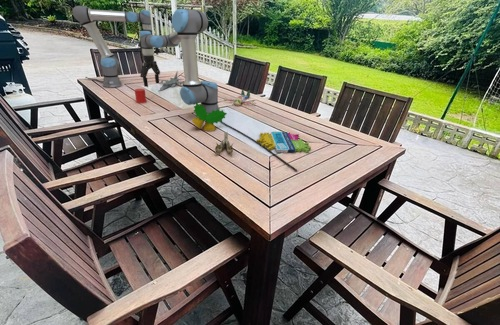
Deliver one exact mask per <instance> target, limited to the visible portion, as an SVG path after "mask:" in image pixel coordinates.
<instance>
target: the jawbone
mask: <svg viewBox="0 0 500 325" xmlns="http://www.w3.org/2000/svg"><path fill="white" fill-rule="evenodd" d="M223 135H224V136H223V140H222V139H221V142H220V144H218V142H215V144H216V146H215V148H214V149H215V152H214V154H215V155H217V156H218V155H220V153H221V152H223V151H224V150H226V152H227V153H228V155H229V156H233V155H234V154H233V153H234V148H233V144H234V143H230V140H228V139H229V138H228V137H229V136H228V135H229V133H228V131H226V132H224V134H223Z"/></svg>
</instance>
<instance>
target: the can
mask: <svg viewBox="0 0 500 325" xmlns="http://www.w3.org/2000/svg"><path fill="white" fill-rule="evenodd" d="M134 94H135V102H136V103H137V104H145V103H147V96H146V95H147V94H146V89H145V88H135V89H134Z"/></svg>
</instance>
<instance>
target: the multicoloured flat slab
mask: <svg viewBox="0 0 500 325" xmlns="http://www.w3.org/2000/svg"><path fill="white" fill-rule="evenodd" d="M299 136H300V135H299V134H298V133H296V134H294V133H291V132H287V131H270V132H264V133H263V132H260V133H259V139H258V138H257V139H256V141H257V142H258V143H260V144H261V145H262V146H264V147H266V148H267V149H268V150H270V151H272V150H273V149H275V152H276V153H283V154H285V153H287V154H288V153H290V154H293V153H296V152H298V153H301V152H305V153H310V151H311V150H312V149H311V148H312V146H309V142H304V141H303V139H302V138H299ZM262 146H261V147H262ZM268 150H267V151H268Z"/></svg>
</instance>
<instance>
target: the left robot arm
mask: <svg viewBox="0 0 500 325" xmlns="http://www.w3.org/2000/svg"><path fill="white" fill-rule="evenodd" d="M72 15H73V17H74V19H75V20H76V21H78V22H79V23H80V25H81V27H84V28H85V30H86V31H87V33H88V35H89V36H90V38H91V40H92V42H93V44H94V46H95V47H96V48H97V50H98V52H99V54H100V56H101V57H100V65H101V70H102V75H103V81H101V80H99V79H97V78H92V80H94V81H97V82H99V83H101V84H102V86H103V87H104V88H111V89H112V88H120V87H122V86H123V83H122V82H121V80H120V78H119V72H118V70H119V68H120V65H121V64H120V61H119V59H118V58H116V56H115V54H114V53H113V52H111V49H110V48H109V46H108V44H107V43H106V41H105V39H104V36H102V34H101V32H100V30H99V28H98V26H97V24H96V23H97V21H101V22H103V21H104V22H120V23H121V22H123V23H141V24H142V31H150V32H151V35H153V30H152V19H151V12H150V11H149V10H147V9H146V10H145V9H141V10H140V11H124V10H123V11H122V10H121V11H119V10H105V9H92V8H90V7H88V6H86V5H76V6H74V7H73V8H72ZM137 47H139V48H140V52H141V55H142V56H143V53H142V46H141V40H140V39H139V42H138V45H137ZM154 48H155V47H154ZM155 55H157V56H158V55H159V48H155ZM85 79H88V80H91V78H90V77H87V76H85Z"/></svg>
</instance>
